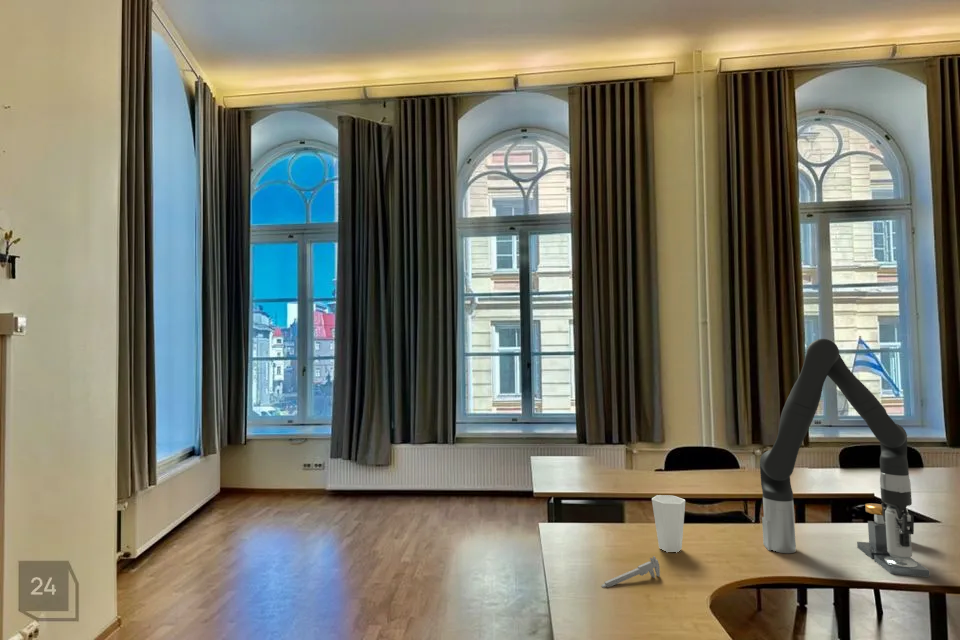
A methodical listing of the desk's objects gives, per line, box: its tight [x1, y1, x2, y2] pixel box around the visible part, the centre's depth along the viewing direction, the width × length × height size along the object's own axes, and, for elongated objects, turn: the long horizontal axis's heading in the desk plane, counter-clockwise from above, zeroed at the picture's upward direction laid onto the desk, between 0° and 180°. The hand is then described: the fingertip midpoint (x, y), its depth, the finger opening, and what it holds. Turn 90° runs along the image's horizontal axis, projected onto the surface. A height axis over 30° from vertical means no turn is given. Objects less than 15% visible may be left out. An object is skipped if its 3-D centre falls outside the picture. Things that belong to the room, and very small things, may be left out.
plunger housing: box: [856, 520, 890, 560], centre depth 171 cm, size 10×10×10 cm
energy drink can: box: [885, 506, 913, 560], centre depth 160 cm, size 6×6×15 cm
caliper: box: [600, 555, 661, 589], centre depth 152 cm, size 20×1×6 cm, turn 111°
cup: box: [651, 494, 686, 554], centre depth 178 cm, size 11×10×17 cm
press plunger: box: [865, 502, 884, 525], centre depth 171 cm, size 7×7×9 cm
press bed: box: [873, 555, 931, 578], centre depth 159 cm, size 10×10×2 cm
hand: (899, 542), depth 160 cm, fingers closed on energy drink can, 6 cm apart
